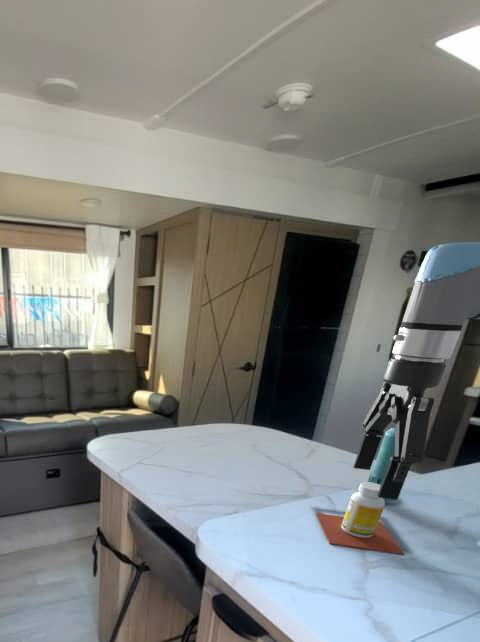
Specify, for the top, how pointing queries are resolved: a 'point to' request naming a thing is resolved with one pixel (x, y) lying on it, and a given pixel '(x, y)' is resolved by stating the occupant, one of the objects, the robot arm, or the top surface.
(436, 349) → the robot arm
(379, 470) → the beverage bottle
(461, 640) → the top surface
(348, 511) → the supplement bottle
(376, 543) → the cloth
